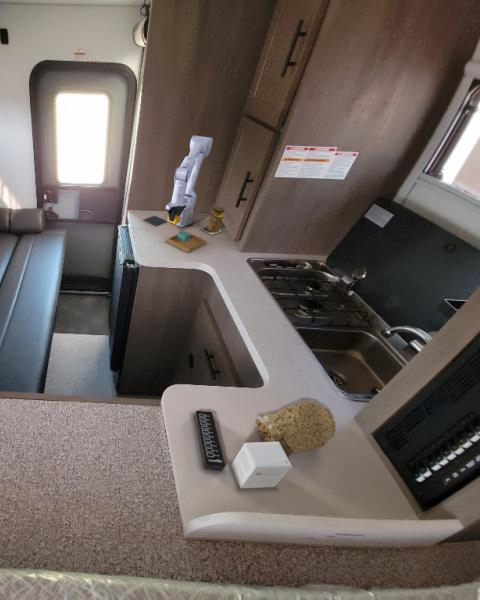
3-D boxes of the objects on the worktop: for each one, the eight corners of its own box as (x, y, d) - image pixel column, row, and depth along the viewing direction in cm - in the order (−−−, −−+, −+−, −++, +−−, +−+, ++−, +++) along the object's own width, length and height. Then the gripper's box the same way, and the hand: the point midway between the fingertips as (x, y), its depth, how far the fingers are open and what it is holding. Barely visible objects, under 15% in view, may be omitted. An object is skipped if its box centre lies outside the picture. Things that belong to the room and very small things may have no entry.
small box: (262, 463, 79) (279, 440, 72) (274, 488, 74) (293, 466, 68) (230, 464, 78) (244, 441, 72) (239, 489, 74) (255, 467, 67)
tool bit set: (210, 416, 88) (212, 411, 87) (223, 471, 77) (225, 467, 76) (193, 415, 89) (195, 410, 87) (203, 469, 77) (206, 464, 76)
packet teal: (181, 236, 170) (182, 230, 168) (189, 239, 167) (190, 234, 165) (176, 238, 168) (177, 233, 166) (184, 242, 165) (185, 236, 163)
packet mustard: (172, 219, 170) (173, 213, 168) (179, 222, 167) (181, 216, 165) (167, 221, 168) (168, 215, 167) (174, 224, 165) (176, 218, 163)
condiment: (222, 230, 176) (228, 209, 168) (212, 235, 172) (218, 213, 165) (210, 226, 181) (216, 205, 173) (201, 230, 177) (206, 208, 169)
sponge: (271, 465, 80) (356, 451, 78) (273, 443, 76) (362, 428, 75) (245, 422, 91) (319, 409, 90) (246, 401, 88) (322, 388, 86)
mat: (154, 216, 190) (154, 215, 190) (166, 221, 184) (166, 221, 184) (143, 220, 185) (143, 219, 185) (155, 226, 180) (155, 225, 180)
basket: (184, 234, 172) (185, 231, 171) (205, 243, 164) (206, 240, 163) (166, 242, 165) (167, 238, 164) (188, 252, 157) (189, 249, 156)
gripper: (176, 199, 153) (171, 226, 161) (195, 192, 160) (189, 218, 168) (164, 194, 157) (159, 221, 165) (183, 188, 164) (178, 213, 173)
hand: (173, 219), depth 167 cm, fingers closed on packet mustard, 4 cm apart
